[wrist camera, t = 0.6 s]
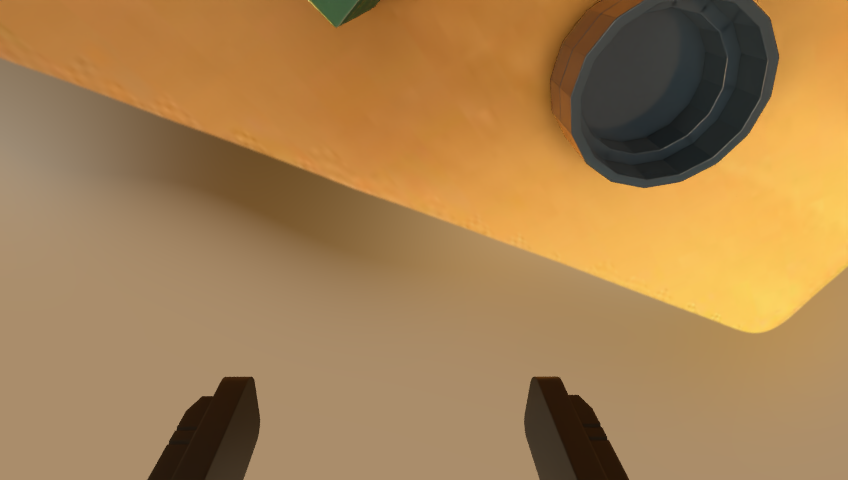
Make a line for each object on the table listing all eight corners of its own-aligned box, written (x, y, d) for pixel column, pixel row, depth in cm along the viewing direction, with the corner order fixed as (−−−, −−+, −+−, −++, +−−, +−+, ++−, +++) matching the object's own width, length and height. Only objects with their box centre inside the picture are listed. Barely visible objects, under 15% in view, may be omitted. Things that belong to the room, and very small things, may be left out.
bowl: (544, 2, 28) (568, 10, 23) (734, -40, 27) (799, -40, 22) (552, 167, 34) (573, 200, 29) (708, 139, 32) (756, 169, 28)
